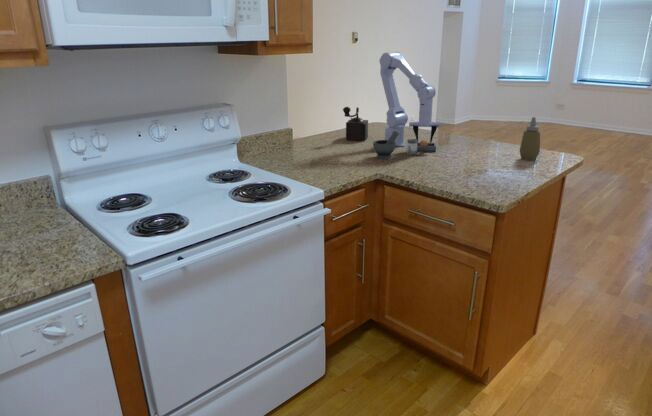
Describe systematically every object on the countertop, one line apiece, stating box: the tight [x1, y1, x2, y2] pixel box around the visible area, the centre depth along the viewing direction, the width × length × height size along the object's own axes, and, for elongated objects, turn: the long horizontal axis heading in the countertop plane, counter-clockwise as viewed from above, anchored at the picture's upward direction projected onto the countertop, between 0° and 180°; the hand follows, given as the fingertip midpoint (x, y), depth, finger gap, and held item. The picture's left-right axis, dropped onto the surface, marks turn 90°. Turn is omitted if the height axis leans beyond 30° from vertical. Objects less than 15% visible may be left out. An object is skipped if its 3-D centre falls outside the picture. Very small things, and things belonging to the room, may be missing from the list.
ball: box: [419, 139, 429, 146], centre depth 221 cm, size 4×4×4 cm
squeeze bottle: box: [519, 116, 541, 162], centre depth 198 cm, size 8×8×18 cm
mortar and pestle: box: [372, 131, 399, 160], centre depth 208 cm, size 11×9×12 cm
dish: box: [417, 142, 437, 153], centre depth 222 cm, size 11×8×2 cm
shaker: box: [406, 138, 419, 157], centre depth 212 cm, size 5×5×7 cm
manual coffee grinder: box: [342, 106, 369, 142], centre depth 243 cm, size 16×11×18 cm
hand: (424, 142), depth 221 cm, fingers open, 6 cm apart
